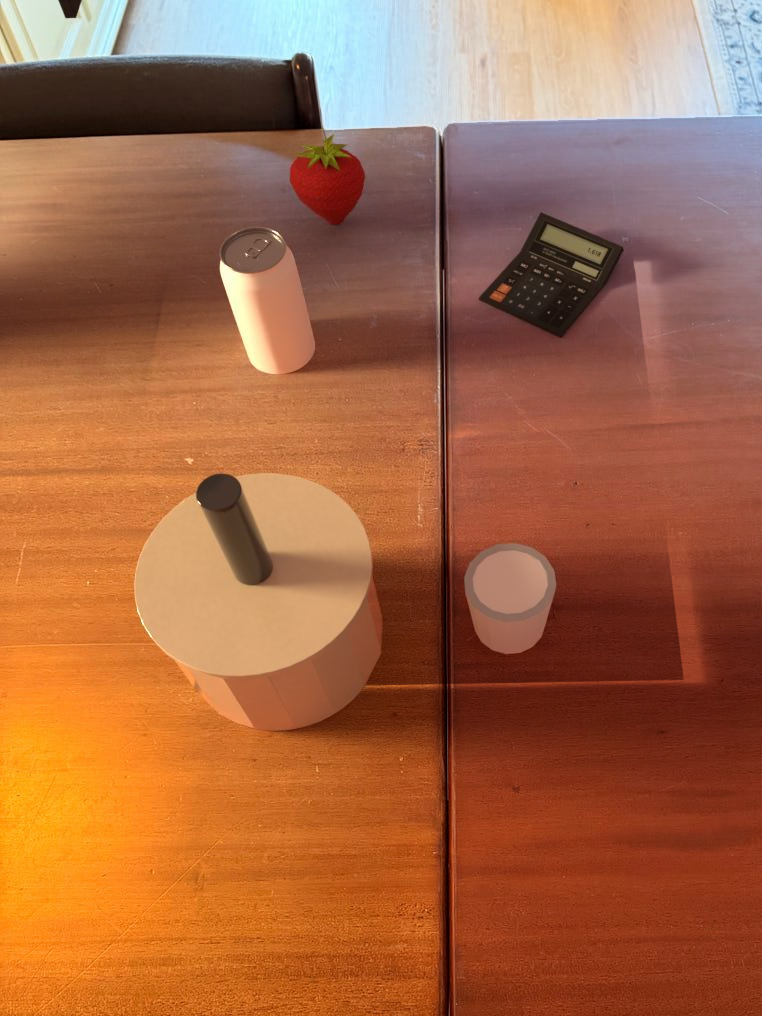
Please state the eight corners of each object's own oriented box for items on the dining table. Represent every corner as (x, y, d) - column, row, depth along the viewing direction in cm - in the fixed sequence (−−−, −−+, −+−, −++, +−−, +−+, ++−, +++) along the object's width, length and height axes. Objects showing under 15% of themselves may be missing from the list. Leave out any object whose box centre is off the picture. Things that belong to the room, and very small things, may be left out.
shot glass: (527, 677, 73) (529, 636, 67) (451, 640, 75) (446, 596, 69) (566, 610, 76) (572, 564, 70) (492, 575, 77) (492, 528, 71)
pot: (176, 732, 72) (127, 674, 62) (201, 559, 79) (161, 484, 69) (378, 729, 71) (360, 670, 62) (386, 556, 79) (370, 480, 69)
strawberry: (303, 204, 99) (283, 113, 90) (373, 203, 99) (361, 112, 90) (297, 242, 96) (276, 153, 87) (369, 242, 96) (356, 152, 87)
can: (236, 365, 89) (199, 262, 78) (271, 320, 91) (240, 214, 81) (294, 387, 87) (265, 285, 77) (328, 340, 90) (305, 235, 79)
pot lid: (121, 685, 63) (57, 612, 54) (158, 484, 70) (107, 390, 61) (368, 681, 62) (345, 607, 53) (378, 480, 70) (360, 384, 61)
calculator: (479, 304, 92) (478, 279, 89) (541, 234, 96) (542, 209, 93) (560, 342, 89) (562, 318, 86) (621, 268, 93) (624, 243, 91)
